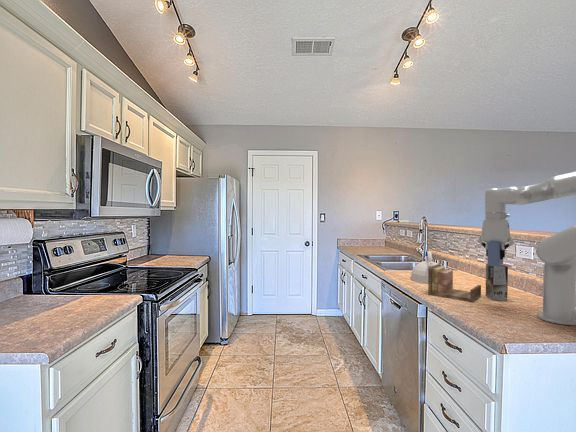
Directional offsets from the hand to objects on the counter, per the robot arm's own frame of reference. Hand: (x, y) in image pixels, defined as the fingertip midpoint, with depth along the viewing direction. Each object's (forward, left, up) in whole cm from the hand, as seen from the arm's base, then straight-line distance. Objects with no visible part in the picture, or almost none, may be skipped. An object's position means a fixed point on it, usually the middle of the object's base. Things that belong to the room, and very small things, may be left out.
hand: (495, 258), depth 140 cm
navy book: (0, 0, -3) cm, 3 cm away
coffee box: (+2, -16, -21) cm, 27 cm away
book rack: (+18, -7, -21) cm, 29 cm away
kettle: (+40, -34, -21) cm, 57 cm away
